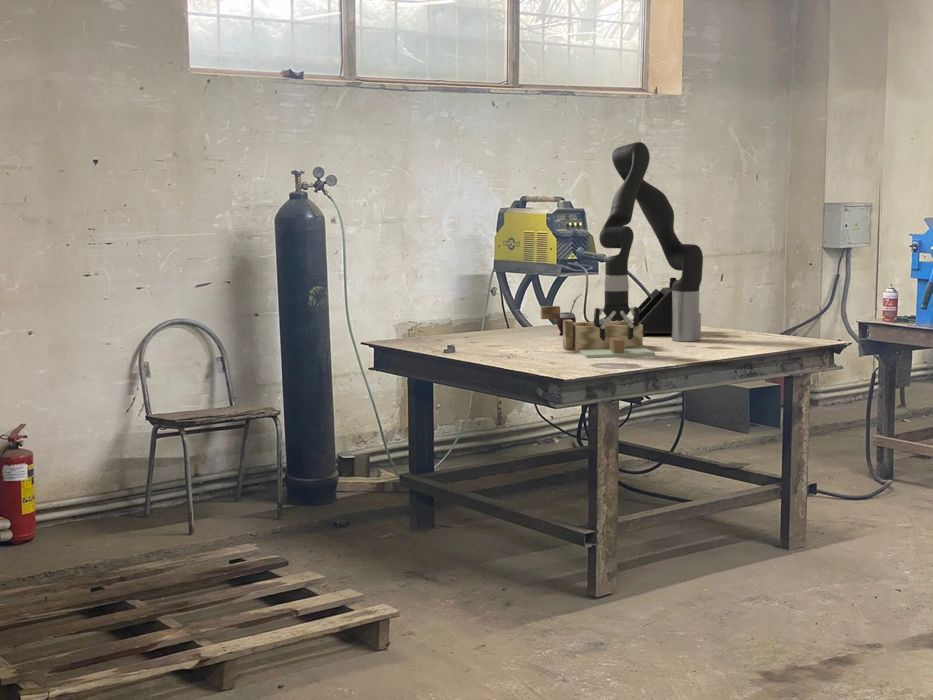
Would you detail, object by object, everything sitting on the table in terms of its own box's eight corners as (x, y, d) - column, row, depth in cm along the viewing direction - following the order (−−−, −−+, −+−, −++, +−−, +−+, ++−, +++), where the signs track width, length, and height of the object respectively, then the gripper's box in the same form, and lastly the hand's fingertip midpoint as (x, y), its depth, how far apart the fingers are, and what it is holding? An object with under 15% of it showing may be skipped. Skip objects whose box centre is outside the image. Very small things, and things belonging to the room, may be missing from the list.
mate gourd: (552, 334, 414) (552, 294, 412) (567, 333, 419) (567, 292, 417) (567, 336, 408) (567, 295, 406) (582, 334, 413) (582, 293, 411)
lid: (645, 352, 369) (645, 335, 368) (655, 357, 357) (655, 340, 357) (579, 354, 367) (578, 337, 366) (586, 359, 355) (586, 342, 354)
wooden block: (558, 317, 376) (558, 305, 375) (560, 318, 373) (560, 306, 372) (540, 318, 375) (540, 306, 375) (542, 319, 372) (542, 307, 372)
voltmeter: (631, 331, 421) (631, 277, 418) (675, 331, 420) (676, 277, 418) (636, 337, 405) (636, 281, 402) (682, 336, 404) (682, 280, 402)
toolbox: (633, 344, 384) (634, 316, 383) (642, 349, 372) (642, 320, 371) (561, 346, 382) (561, 318, 381) (567, 351, 370) (567, 322, 369)
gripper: (635, 287, 364) (635, 337, 366) (591, 288, 362) (592, 339, 364) (641, 289, 356) (641, 340, 358) (596, 290, 355) (596, 342, 357)
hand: (616, 339), depth 361 cm, fingers open, 8 cm apart
